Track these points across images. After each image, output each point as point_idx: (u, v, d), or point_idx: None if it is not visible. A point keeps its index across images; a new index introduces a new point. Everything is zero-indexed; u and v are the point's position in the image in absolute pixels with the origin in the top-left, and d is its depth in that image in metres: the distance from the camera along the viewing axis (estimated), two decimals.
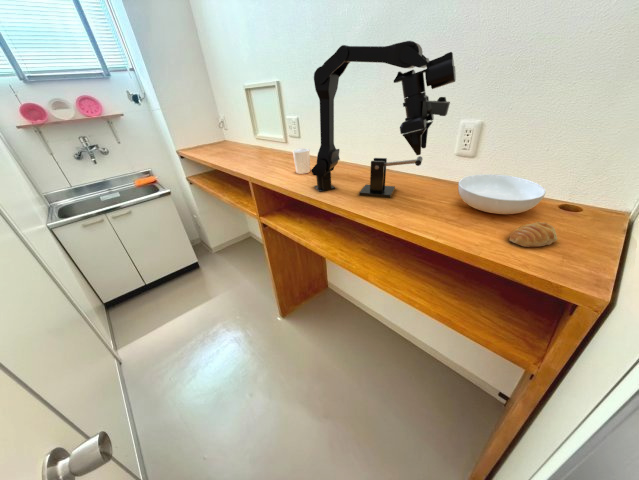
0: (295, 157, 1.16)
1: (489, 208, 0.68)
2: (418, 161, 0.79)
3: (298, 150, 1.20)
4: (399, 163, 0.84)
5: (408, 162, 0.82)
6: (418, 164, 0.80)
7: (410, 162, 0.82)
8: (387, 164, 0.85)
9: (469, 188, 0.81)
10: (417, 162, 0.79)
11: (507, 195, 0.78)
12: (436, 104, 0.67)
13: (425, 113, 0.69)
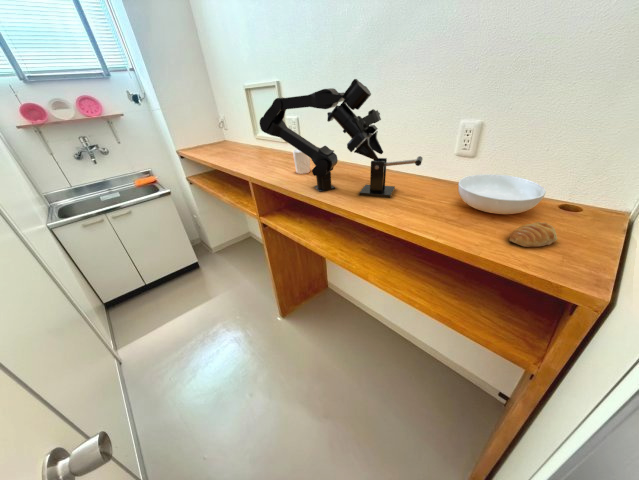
0: (295, 157, 1.16)
1: (489, 208, 0.68)
2: (418, 161, 0.79)
3: (298, 150, 1.20)
4: (399, 163, 0.84)
5: (408, 162, 0.82)
6: (418, 164, 0.80)
7: (410, 162, 0.82)
8: (387, 164, 0.85)
9: (469, 188, 0.81)
10: (417, 162, 0.79)
11: (507, 195, 0.78)
12: (366, 117, 0.79)
13: (362, 128, 0.80)
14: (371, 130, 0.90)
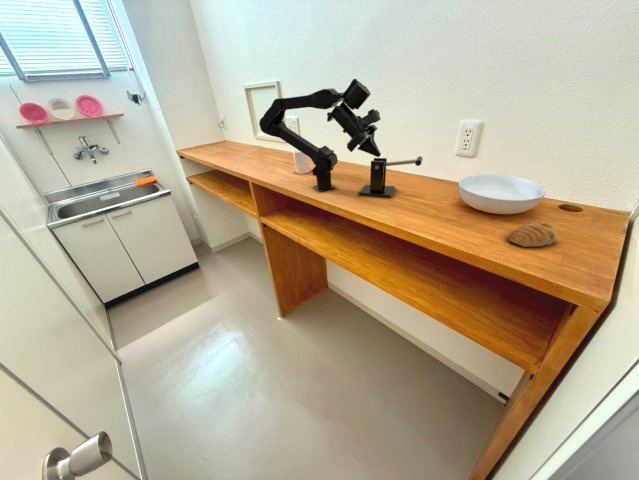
0: (295, 157, 1.16)
1: (489, 208, 0.68)
2: (418, 161, 0.79)
3: (298, 150, 1.20)
4: (399, 163, 0.84)
5: (408, 162, 0.82)
6: (418, 164, 0.80)
7: (410, 162, 0.82)
8: (387, 164, 0.85)
9: (469, 188, 0.81)
10: (417, 162, 0.79)
11: (507, 195, 0.78)
12: (366, 117, 0.79)
13: (362, 127, 0.80)
14: (371, 130, 0.90)
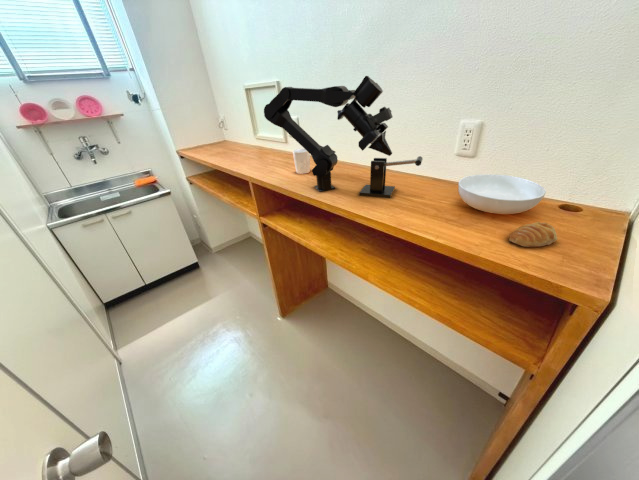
0: (295, 157, 1.16)
1: (489, 208, 0.68)
2: (418, 161, 0.79)
3: (298, 150, 1.20)
4: (399, 163, 0.84)
5: (408, 162, 0.82)
6: (418, 164, 0.80)
7: (410, 162, 0.82)
8: (387, 164, 0.85)
9: (469, 188, 0.81)
10: (417, 162, 0.79)
11: (507, 195, 0.78)
12: (378, 115, 0.77)
13: (374, 125, 0.79)
14: (381, 128, 0.89)
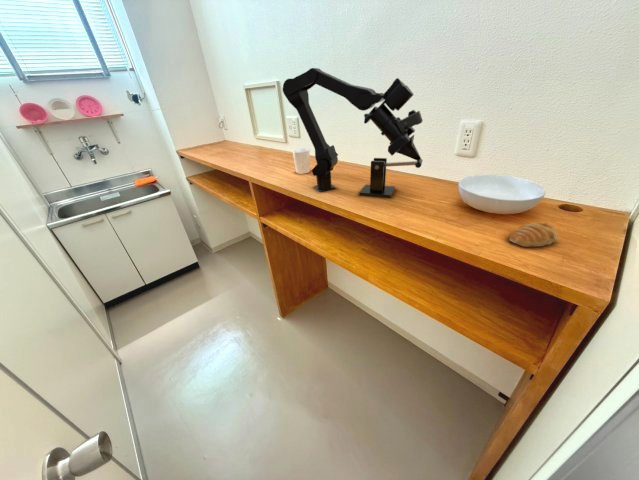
0: (295, 157, 1.16)
1: (489, 208, 0.68)
2: (418, 163, 0.79)
3: (298, 150, 1.20)
4: (399, 164, 0.84)
5: (408, 163, 0.82)
6: (418, 166, 0.80)
7: (410, 164, 0.82)
8: (387, 164, 0.85)
9: (469, 188, 0.81)
10: (417, 164, 0.80)
11: (507, 195, 0.78)
12: (408, 118, 0.74)
13: (403, 130, 0.76)
14: (408, 132, 0.86)
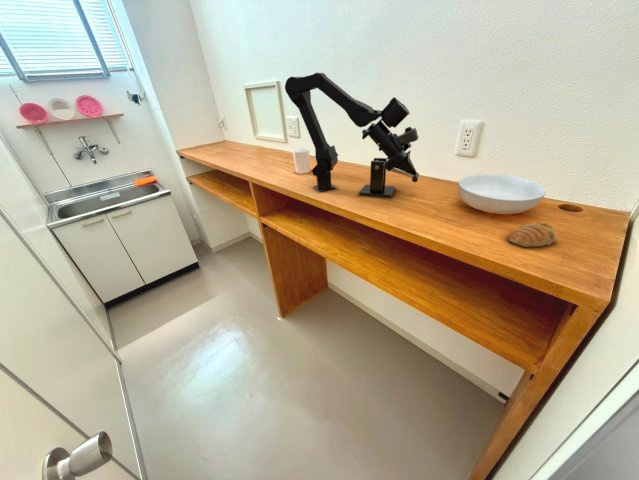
0: (295, 157, 1.16)
1: (489, 208, 0.68)
2: (415, 178, 0.82)
3: (298, 150, 1.20)
4: (398, 172, 0.85)
5: (406, 174, 0.84)
6: (414, 181, 0.83)
7: (407, 175, 0.84)
8: None
9: (469, 188, 0.81)
10: (414, 178, 0.82)
11: (507, 195, 0.78)
12: (404, 136, 0.77)
13: (400, 146, 0.79)
14: (404, 146, 0.89)
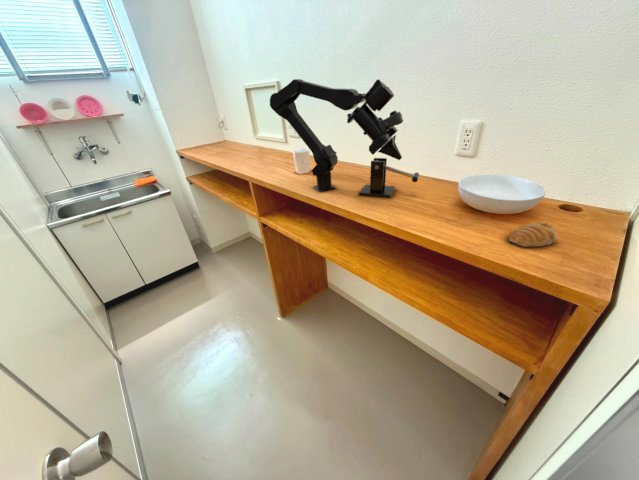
0: (295, 157, 1.16)
1: (489, 208, 0.68)
2: (415, 178, 0.82)
3: (298, 150, 1.20)
4: (398, 172, 0.85)
5: (406, 174, 0.84)
6: (414, 181, 0.83)
7: (407, 175, 0.84)
8: (387, 168, 0.86)
9: (469, 188, 0.81)
10: (414, 178, 0.82)
11: (507, 195, 0.78)
12: (389, 119, 0.77)
13: (384, 130, 0.78)
14: (391, 132, 0.88)
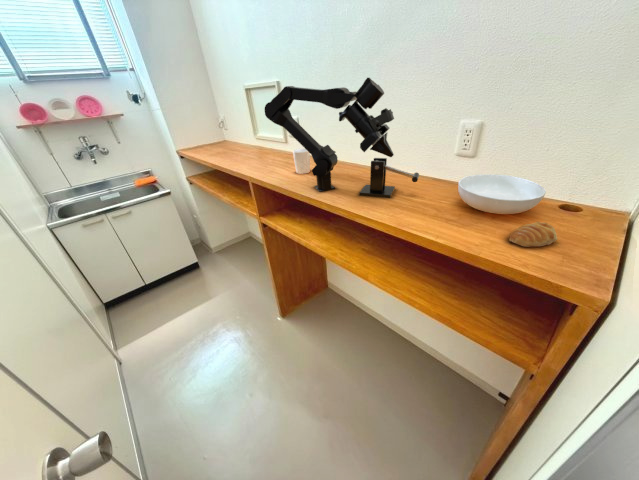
0: (295, 157, 1.16)
1: (489, 208, 0.68)
2: (415, 178, 0.82)
3: (298, 150, 1.20)
4: (398, 172, 0.85)
5: (406, 174, 0.84)
6: (414, 181, 0.83)
7: (407, 175, 0.84)
8: (387, 168, 0.86)
9: (469, 188, 0.81)
10: (414, 178, 0.82)
11: (507, 195, 0.78)
12: (379, 116, 0.77)
13: (375, 127, 0.79)
14: (383, 130, 0.89)
